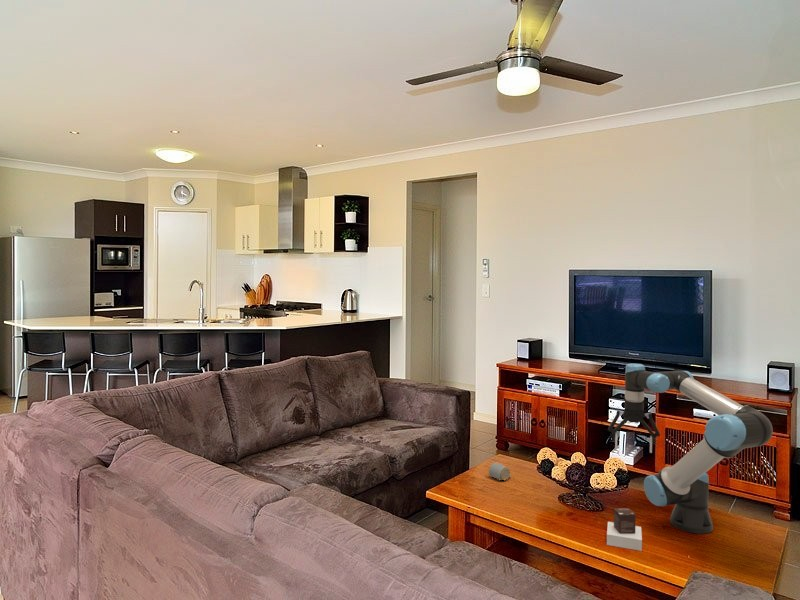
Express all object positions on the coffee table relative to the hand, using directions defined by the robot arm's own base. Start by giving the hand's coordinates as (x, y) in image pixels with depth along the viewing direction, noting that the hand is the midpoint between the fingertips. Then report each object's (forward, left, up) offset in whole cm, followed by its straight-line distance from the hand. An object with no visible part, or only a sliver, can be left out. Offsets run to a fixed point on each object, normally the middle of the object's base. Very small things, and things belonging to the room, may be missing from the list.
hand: (633, 450), depth 237 cm
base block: (+3, +30, -27) cm, 40 cm away
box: (+3, +30, -23) cm, 38 cm away
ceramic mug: (+60, -18, -27) cm, 68 cm away
